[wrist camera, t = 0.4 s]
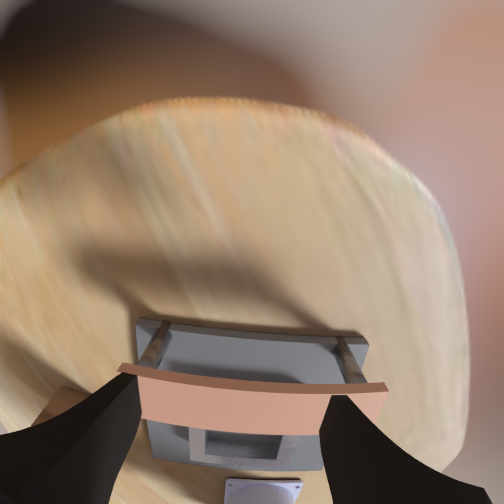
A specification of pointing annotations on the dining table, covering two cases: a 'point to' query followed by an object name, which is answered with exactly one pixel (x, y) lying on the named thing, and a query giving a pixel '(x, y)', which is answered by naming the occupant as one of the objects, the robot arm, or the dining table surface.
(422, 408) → the dining table surface
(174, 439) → the socket board
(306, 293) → the dining table surface
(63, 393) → the walnut peg
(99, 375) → the dining table surface
